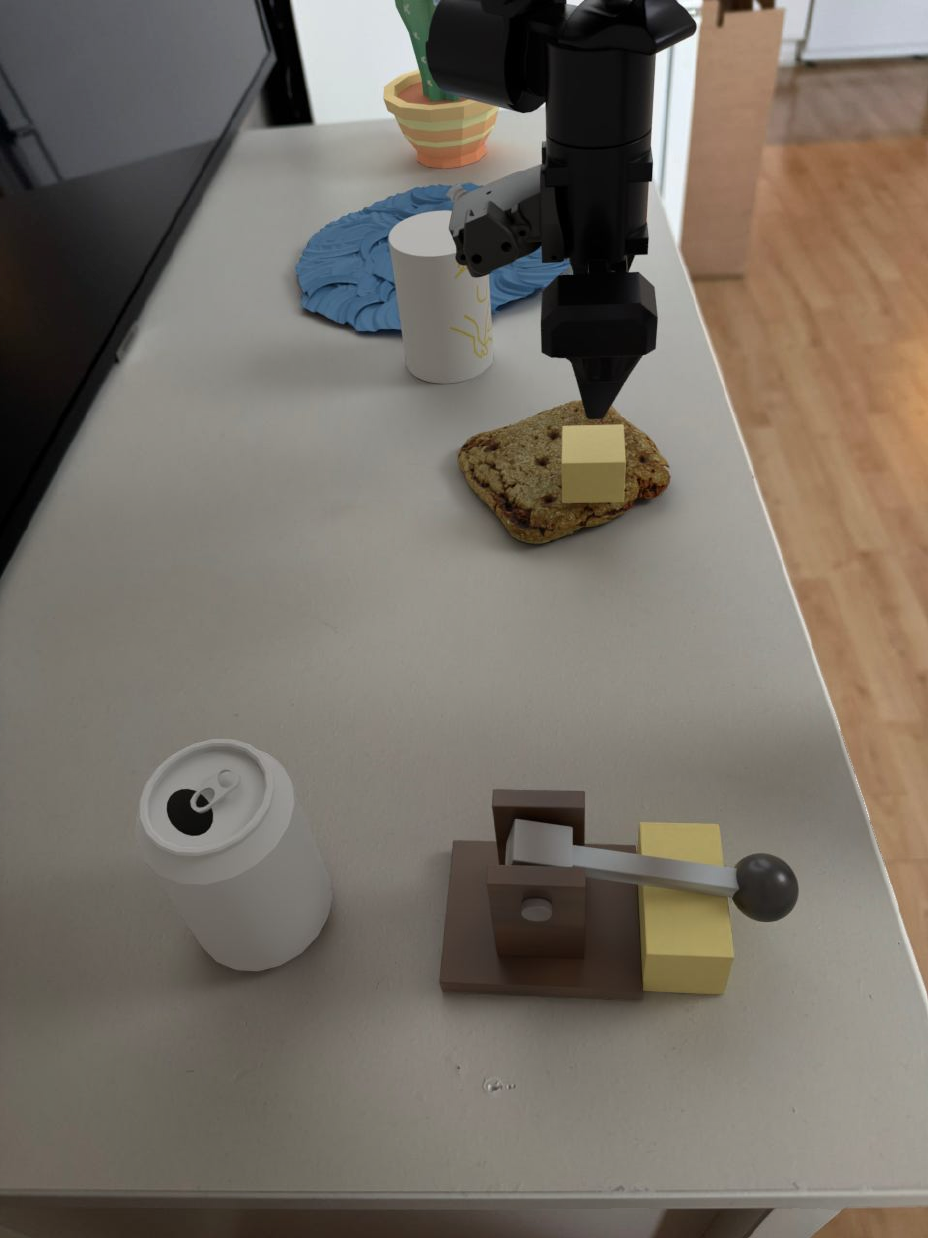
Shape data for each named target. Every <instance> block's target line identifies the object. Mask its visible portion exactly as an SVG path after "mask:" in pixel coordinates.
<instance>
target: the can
mask: <svg viewBox="0 0 928 1238" xmlns="http://www.w3.org/2000/svg"><path fill="white" fill-rule="evenodd" d="M135 843H136V845H137V848H138V850H139V853H140V855H141V858H142V860H143V862H144V863H145V865H146V866H147V868H148V869H149V871H150V872H151V874H152V875H153V877H154V878H155V880H156V881H157V882H158V884H159V886H160V887H161V888H162V890H163V891H164V893H165V894H166V896H167V897H168V899H169V900H170V902H171V903H172V904H173V906H174V907H175V909H176V910H177V912H178V913H179V915H180V917H181V918H182V919H183V921H184V923H185V924H186V926H187V927H188V928H189V930H190V931H191V933H192V934H193V936H194V937H195V939H196V940H197V942H198V943H199V944H200V946H201V948H203V950H204V951H205V952H206V953H207V954H208V955H209V956H210V957H211V958H212V959H213V960H215V962H216V963H217V964H221V965H223V966H225V967H228V968H229V969H230V968H231V969H233V970H235V971H246V972H247V971H248V972H260V971H264V970H267V969H268V970H269V969H273V968H276V967H281V966H282V965H285V964H286V963H287V962H288V961H291V960H293V959H294V958H296V957H297V956H299V955H301V954H302V953H303V952H304V951H305V950H306V949H307V948H308V947H309V946H310V945H311V944H312V942H314V941H315V940H316V939H317V938H318V937H319V935H320V933H321V931H322V929H323V927H324V926H325V924H326V922H327V920H328V919H329V915H330V910H331V905H332V899H333V892H332V885H331V878H330V874H329V872H328V869H327V867H326V865H325V864H326V863H325V861H324V859H323V857H322V854H321V851H320V849H319V847H318V844H317V842H316V839H315V837H314V834H313V832H312V829H311V827H310V824H309V821H308V819H307V816H306V813H305V811H304V809H303V806H302V804H301V801H300V798H299V796H298V794H297V791H296V789H295V786H294V784H293V781H292V779H291V777H290V776H289V774H288V773H287V770H286V769H285V767H284V766H283V764H281V762H279V761H278V760H277V759H275V758H274V757H273V756H271V754H269V753H268V752H265V751H263V750H260V749H257V748H256V747H254V746H253V745H252V744H249V743H246V742H243V741H240V740H237V739H234V738H211V739H208V740H204V741H200V742H195V743H192V744H190V745H188V746H186V747H183V748H182V749H180V750H178V751H176V752H174V753H173V754H172V755H170V756H169V757H168V758H167V759H165V760H164V761H163V762H161V764H159V765H158V766H157V767H156V769H154V771H153V772H152V774H151V775H150V777H149V778H148V780H147V781H146V782H145V784H144V787H143V789H142V793H141V795H140V798H139V800H138V813H137V815H136V819H135Z"/></svg>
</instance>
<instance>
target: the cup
mask: <svg viewBox="0 0 928 1238" xmlns="http://www.w3.org/2000/svg"><path fill="white" fill-rule="evenodd" d="M451 213H452V211H432V212H426V213H421V214H418V215H414V216H412V217H409V218H407V219H405V220H403V221H401V222H400V223H398V224H397V225H396V226H394V227H393V229H392V230H391V231H390V234H389V244H390V251H391V258H392V265H393V272H394V280H395V287H396V294H397V301H398V308H399V315H400V322H401V329H400V330H401V335H402V336H401V337H402V343H403V349H404V358H405V364H406V368H407V370H408V371H409V373H410V374H411V375H413V376H414V377H415V378H417V379H419V380H421V381H424V382H427V383H432V384H441V385H442V384H443V385H444V384H457V383H462V382H467V381H470V380H472V379H474V378H476V377H478V376H480V375H482V374H483V373H485V372H486V371H487V370H488V369H489V368H490V367H491V366H492V364H493V361H494V358H495V357H494V340H493V323H492V312H491V305H490V288H489V274H488V275H486V276H483V277H478V278H475V277H472V276H471V275H470V273H469V271H468V269H467V267H466V265H465V266H463V265H460V264H458V263H457V261H456V259H455V256H456V245H455V243H454V241H453V238H452V235H451V233H450V231H449V223H450V218H451Z"/></svg>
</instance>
